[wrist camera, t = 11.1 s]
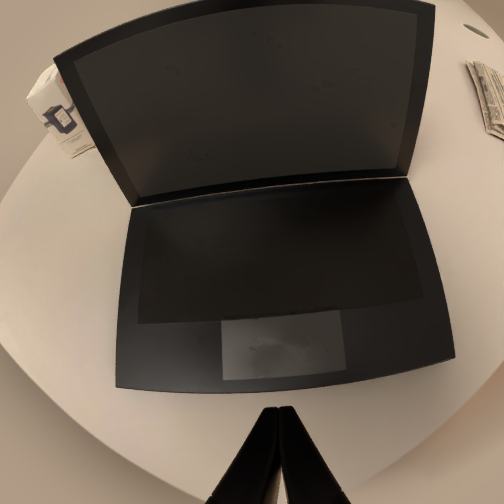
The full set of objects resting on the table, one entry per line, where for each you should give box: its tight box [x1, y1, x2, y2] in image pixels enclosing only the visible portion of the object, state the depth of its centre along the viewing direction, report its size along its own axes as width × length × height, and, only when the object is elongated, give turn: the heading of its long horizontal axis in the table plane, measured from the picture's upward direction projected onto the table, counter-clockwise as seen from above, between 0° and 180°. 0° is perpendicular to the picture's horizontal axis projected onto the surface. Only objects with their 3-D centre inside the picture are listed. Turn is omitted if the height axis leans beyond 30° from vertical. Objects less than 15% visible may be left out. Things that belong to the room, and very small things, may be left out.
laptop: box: [116, 178, 455, 394], centre depth 20 cm, size 15×24×2 cm, turn 93°
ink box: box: [26, 64, 95, 158], centre depth 28 cm, size 8×5×12 cm, turn 18°
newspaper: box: [466, 61, 504, 139], centre depth 26 cm, size 23×12×2 cm, turn 154°
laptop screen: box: [53, 0, 435, 207], centre depth 17 cm, size 15×24×1 cm
